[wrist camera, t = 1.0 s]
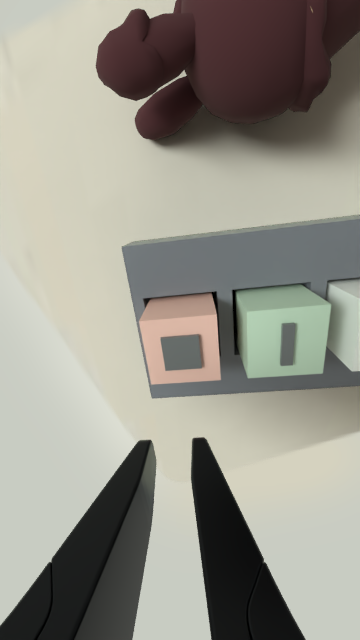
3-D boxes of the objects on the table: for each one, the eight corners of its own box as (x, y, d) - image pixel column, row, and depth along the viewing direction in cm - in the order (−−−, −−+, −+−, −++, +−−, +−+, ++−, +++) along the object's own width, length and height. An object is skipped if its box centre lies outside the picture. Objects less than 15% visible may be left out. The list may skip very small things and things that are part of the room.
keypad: (397, 210, 16) (441, 209, 13) (367, 360, 20) (395, 383, 17) (133, 241, 17) (121, 246, 14) (157, 374, 21) (151, 398, 19)
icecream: (683, -661, 4) (36, -70, 8) (717, -177, 5) (113, 152, 9) (414, -100, 11) (125, 81, 15) (448, 74, 12) (165, 202, 16)
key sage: (300, 284, 15) (333, 305, 12) (296, 340, 17) (324, 375, 13) (235, 290, 16) (247, 313, 12) (236, 345, 17) (248, 380, 14)
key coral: (211, 292, 16) (217, 316, 12) (215, 346, 17) (221, 382, 14) (150, 298, 16) (138, 322, 13) (159, 351, 18) (150, 386, 14)
